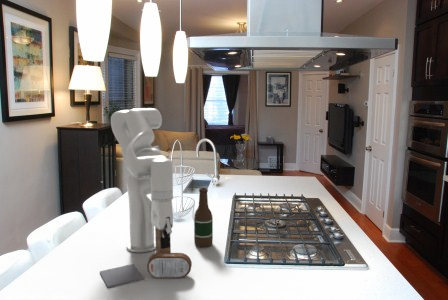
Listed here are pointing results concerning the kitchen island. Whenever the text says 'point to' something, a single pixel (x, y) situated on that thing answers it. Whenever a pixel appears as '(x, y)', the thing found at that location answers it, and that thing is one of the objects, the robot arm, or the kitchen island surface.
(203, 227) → the beer bottle
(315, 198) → the kitchen island surface
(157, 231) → the walnut block
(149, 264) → the tin
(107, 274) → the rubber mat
